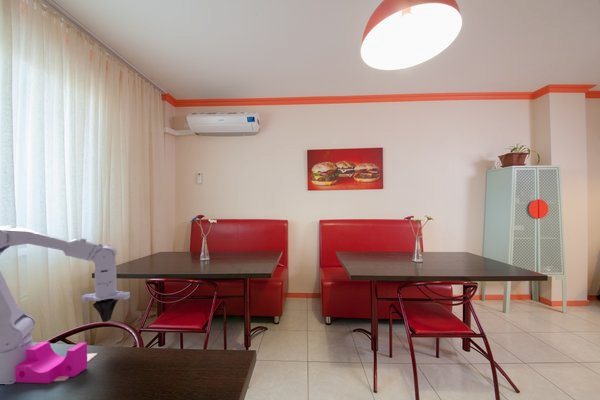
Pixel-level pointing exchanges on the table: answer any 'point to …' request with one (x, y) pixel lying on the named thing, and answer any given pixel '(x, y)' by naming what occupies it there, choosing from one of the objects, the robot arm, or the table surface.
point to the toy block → (50, 363)
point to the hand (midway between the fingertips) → (106, 320)
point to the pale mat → (89, 357)
